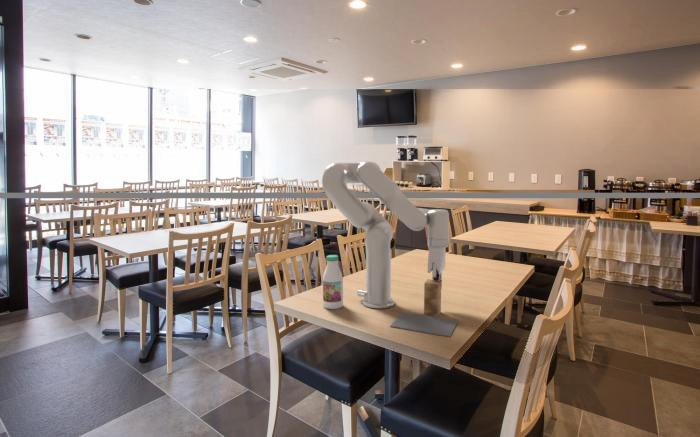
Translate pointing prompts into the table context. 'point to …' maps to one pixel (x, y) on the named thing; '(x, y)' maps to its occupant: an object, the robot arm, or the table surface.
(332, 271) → the milk bottle
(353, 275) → the table surface
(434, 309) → the cardboard box
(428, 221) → the robot arm
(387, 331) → the table surface
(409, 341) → the table surface
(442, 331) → the charcoal mat
